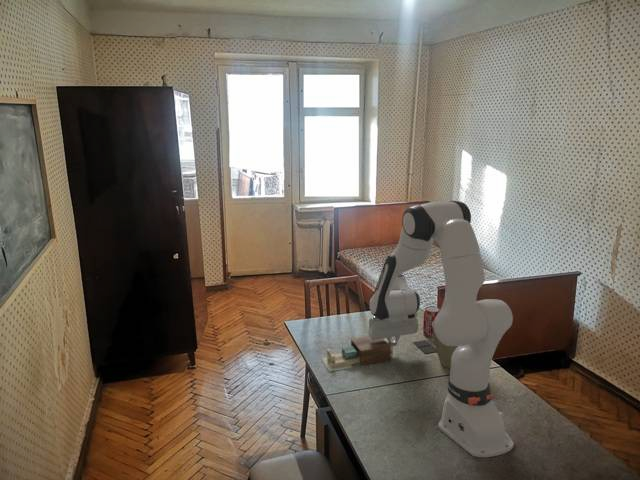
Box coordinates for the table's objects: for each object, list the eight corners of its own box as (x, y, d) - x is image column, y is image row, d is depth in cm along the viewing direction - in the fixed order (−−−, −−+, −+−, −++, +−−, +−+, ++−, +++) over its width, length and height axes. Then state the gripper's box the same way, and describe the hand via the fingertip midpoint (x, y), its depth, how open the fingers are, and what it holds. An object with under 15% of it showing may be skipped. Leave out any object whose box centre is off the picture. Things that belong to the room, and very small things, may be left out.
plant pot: (448, 350, 186) (450, 314, 182) (478, 366, 174) (482, 327, 170) (421, 361, 178) (423, 323, 174) (451, 378, 166) (454, 338, 162)
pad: (352, 367, 174) (352, 367, 174) (329, 371, 171) (329, 371, 171) (343, 355, 183) (343, 354, 183) (321, 358, 180) (321, 358, 180)
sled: (392, 356, 180) (392, 346, 179) (332, 367, 173) (332, 356, 172) (385, 349, 186) (386, 339, 185) (327, 359, 179) (327, 349, 178)
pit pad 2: (438, 351, 185) (438, 350, 185) (425, 353, 183) (425, 353, 183) (432, 346, 189) (432, 345, 189) (419, 348, 187) (419, 348, 187)
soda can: (441, 338, 196) (442, 312, 193) (424, 338, 196) (425, 312, 193) (437, 330, 203) (438, 305, 200) (421, 331, 203) (422, 305, 200)
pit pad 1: (431, 345, 190) (431, 344, 190) (418, 347, 188) (418, 347, 188) (425, 340, 194) (425, 339, 194) (413, 342, 193) (413, 342, 192)
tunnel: (389, 361, 178) (390, 346, 176) (361, 366, 174) (361, 351, 173) (378, 349, 187) (378, 334, 186) (351, 353, 184) (351, 338, 182)
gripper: (372, 320, 173) (371, 353, 177) (420, 313, 179) (419, 345, 183) (365, 313, 179) (365, 346, 183) (413, 307, 185) (411, 338, 188)
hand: (392, 345), depth 183 cm, fingers closed
